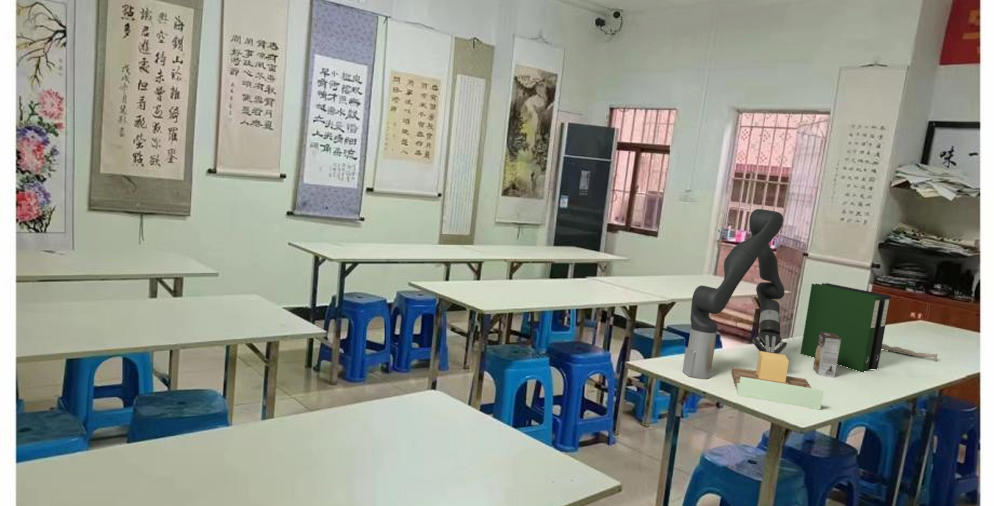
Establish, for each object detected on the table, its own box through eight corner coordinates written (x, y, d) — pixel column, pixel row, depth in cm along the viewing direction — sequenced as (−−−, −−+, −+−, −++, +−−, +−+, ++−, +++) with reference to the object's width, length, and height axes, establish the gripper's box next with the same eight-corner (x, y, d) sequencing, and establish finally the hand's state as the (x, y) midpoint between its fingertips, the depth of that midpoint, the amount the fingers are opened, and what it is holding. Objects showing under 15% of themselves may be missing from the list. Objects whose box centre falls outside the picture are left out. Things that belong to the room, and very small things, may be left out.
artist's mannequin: (937, 358, 319) (867, 345, 337) (938, 349, 319) (868, 337, 336) (935, 367, 297) (859, 353, 314) (936, 358, 297) (861, 344, 314)
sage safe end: (736, 389, 232) (738, 371, 232) (815, 403, 226) (819, 384, 225) (737, 395, 226) (740, 377, 225) (820, 409, 219) (823, 391, 219)
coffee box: (812, 368, 271) (818, 330, 269) (828, 371, 270) (835, 333, 268) (818, 375, 262) (824, 336, 260) (835, 377, 261) (842, 338, 259)
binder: (799, 354, 295) (810, 283, 291) (816, 351, 304) (827, 282, 300) (861, 372, 274) (875, 296, 269) (878, 369, 282) (891, 295, 278)
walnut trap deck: (731, 373, 253) (732, 366, 252) (804, 385, 246) (805, 378, 246) (737, 394, 227) (738, 387, 226) (819, 408, 220) (820, 401, 220)
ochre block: (756, 371, 249) (759, 350, 248) (781, 375, 247) (784, 354, 246) (758, 378, 241) (762, 356, 240) (785, 382, 238) (788, 361, 237)
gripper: (753, 316, 259) (752, 354, 249) (789, 321, 256) (790, 360, 245) (750, 326, 265) (749, 364, 254) (785, 331, 261) (785, 370, 251)
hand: (769, 362), depth 250 cm, fingers closed
